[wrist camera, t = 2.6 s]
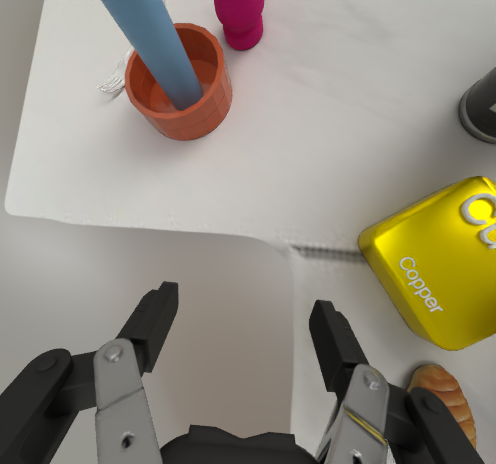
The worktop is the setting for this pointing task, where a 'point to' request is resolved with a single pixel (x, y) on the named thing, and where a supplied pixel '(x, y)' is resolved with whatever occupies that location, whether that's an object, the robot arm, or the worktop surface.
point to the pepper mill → (240, 21)
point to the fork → (118, 73)
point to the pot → (210, 78)
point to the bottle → (158, 47)
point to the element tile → (441, 263)
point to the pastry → (446, 395)
